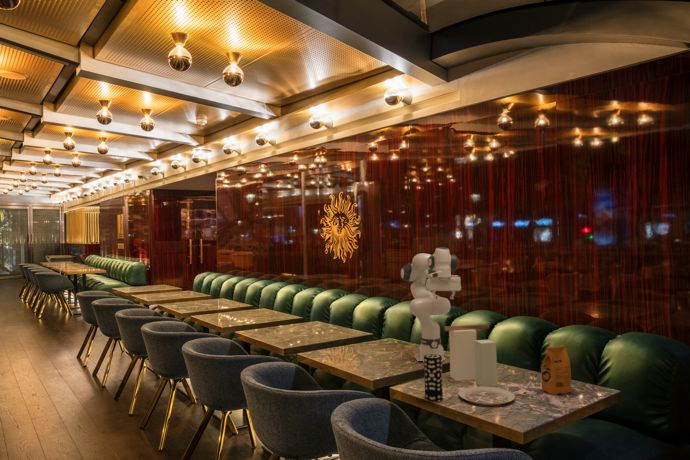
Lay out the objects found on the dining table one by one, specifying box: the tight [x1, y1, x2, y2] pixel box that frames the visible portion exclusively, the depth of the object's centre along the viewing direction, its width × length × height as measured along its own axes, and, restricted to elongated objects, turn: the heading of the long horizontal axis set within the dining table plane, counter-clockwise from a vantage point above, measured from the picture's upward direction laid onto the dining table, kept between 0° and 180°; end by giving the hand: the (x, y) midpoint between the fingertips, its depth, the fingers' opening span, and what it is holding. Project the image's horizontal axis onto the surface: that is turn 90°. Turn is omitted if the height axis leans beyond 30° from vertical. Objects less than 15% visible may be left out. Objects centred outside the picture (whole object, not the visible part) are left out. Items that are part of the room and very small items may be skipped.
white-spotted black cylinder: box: [423, 354, 444, 403], centre depth 233 cm, size 8×8×20 cm
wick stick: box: [443, 323, 490, 332], centre depth 267 cm, size 3×25×2 cm, turn 101°
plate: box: [458, 385, 516, 406], centre depth 232 cm, size 26×26×2 cm
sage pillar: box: [474, 339, 498, 387], centre depth 254 cm, size 8×8×22 cm
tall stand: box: [448, 329, 478, 382], centre depth 266 cm, size 8×12×26 cm, turn 101°
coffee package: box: [540, 344, 572, 396], centre depth 240 cm, size 10×12×22 cm
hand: (443, 299), depth 284 cm, fingers open, 8 cm apart
